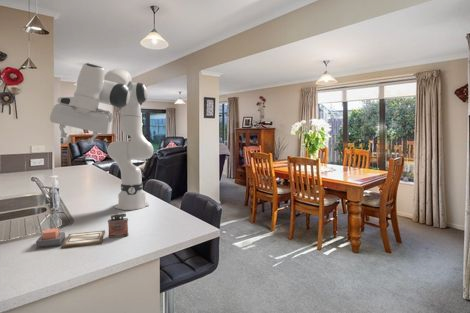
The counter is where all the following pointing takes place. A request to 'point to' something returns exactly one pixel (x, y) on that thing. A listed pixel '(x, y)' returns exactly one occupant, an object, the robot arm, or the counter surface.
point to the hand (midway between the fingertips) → (76, 140)
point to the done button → (51, 233)
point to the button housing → (50, 241)
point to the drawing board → (83, 239)
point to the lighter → (118, 226)
